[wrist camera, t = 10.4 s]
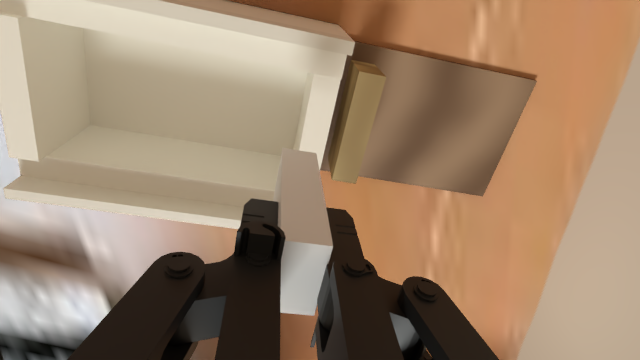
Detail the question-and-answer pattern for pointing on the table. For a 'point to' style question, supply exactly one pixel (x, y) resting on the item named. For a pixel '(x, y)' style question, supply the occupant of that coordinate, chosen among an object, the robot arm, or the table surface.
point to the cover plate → (421, 120)
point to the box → (162, 102)
